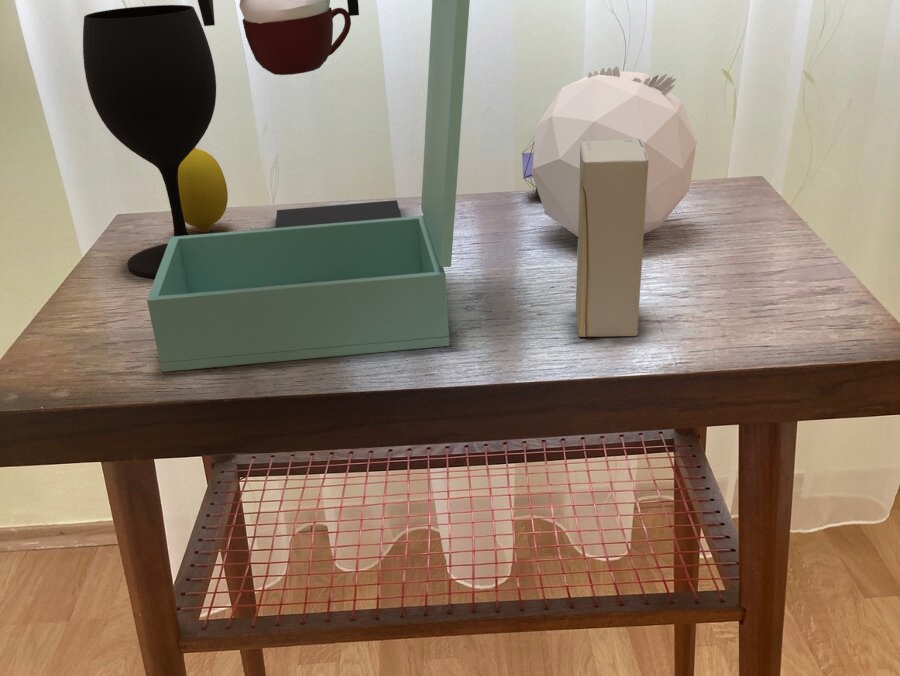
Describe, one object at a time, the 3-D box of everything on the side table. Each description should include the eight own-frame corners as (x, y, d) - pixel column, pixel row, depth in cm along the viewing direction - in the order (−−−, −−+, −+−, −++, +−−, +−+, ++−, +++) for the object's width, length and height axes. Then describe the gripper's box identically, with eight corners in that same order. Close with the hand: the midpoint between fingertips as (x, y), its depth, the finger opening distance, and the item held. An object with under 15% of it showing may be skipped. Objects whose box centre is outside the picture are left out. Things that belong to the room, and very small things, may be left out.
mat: (274, 253, 100) (273, 244, 100) (278, 218, 110) (276, 209, 110) (406, 241, 101) (405, 233, 100) (397, 208, 111) (397, 199, 110)
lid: (463, -99, 64) (537, -93, 64) (437, -105, 77) (500, -100, 77) (439, 267, 75) (502, 269, 76) (420, 209, 88) (475, 211, 89)
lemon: (194, 223, 110) (178, 138, 106) (243, 225, 108) (230, 139, 104) (165, 239, 106) (148, 151, 101) (216, 241, 104) (201, 152, 100)
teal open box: (162, 372, 78) (146, 299, 75) (183, 300, 90) (170, 236, 87) (449, 346, 79) (445, 273, 76) (430, 279, 91) (426, 215, 89)
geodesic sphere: (744, 148, 98) (652, 7, 94) (737, 189, 87) (632, 31, 83) (607, 248, 106) (517, 122, 102) (585, 298, 95) (482, 158, 90)
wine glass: (107, 263, 100) (50, 16, 89) (205, 237, 106) (164, 1, 94) (163, 287, 93) (110, 23, 82) (266, 257, 99) (229, 6, 88)
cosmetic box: (575, 309, 84) (577, 139, 77) (634, 307, 83) (641, 136, 76) (578, 339, 78) (580, 160, 72) (641, 337, 78) (649, 157, 71)
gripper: (434, -376, 59) (429, -51, 81) (10, -354, 58) (121, -31, 80) (449, -260, 57) (439, 39, 79) (15, -235, 56) (127, 61, 78)
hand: (280, 4), depth 79 cm, fingers closed on cocoa, 10 cm apart
